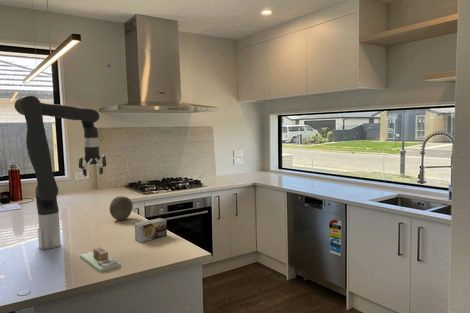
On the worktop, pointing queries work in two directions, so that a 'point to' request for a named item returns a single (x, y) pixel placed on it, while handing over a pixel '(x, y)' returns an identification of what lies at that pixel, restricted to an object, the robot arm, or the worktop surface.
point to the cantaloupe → (121, 208)
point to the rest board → (96, 262)
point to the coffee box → (150, 230)
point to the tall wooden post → (103, 258)
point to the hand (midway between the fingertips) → (93, 175)
